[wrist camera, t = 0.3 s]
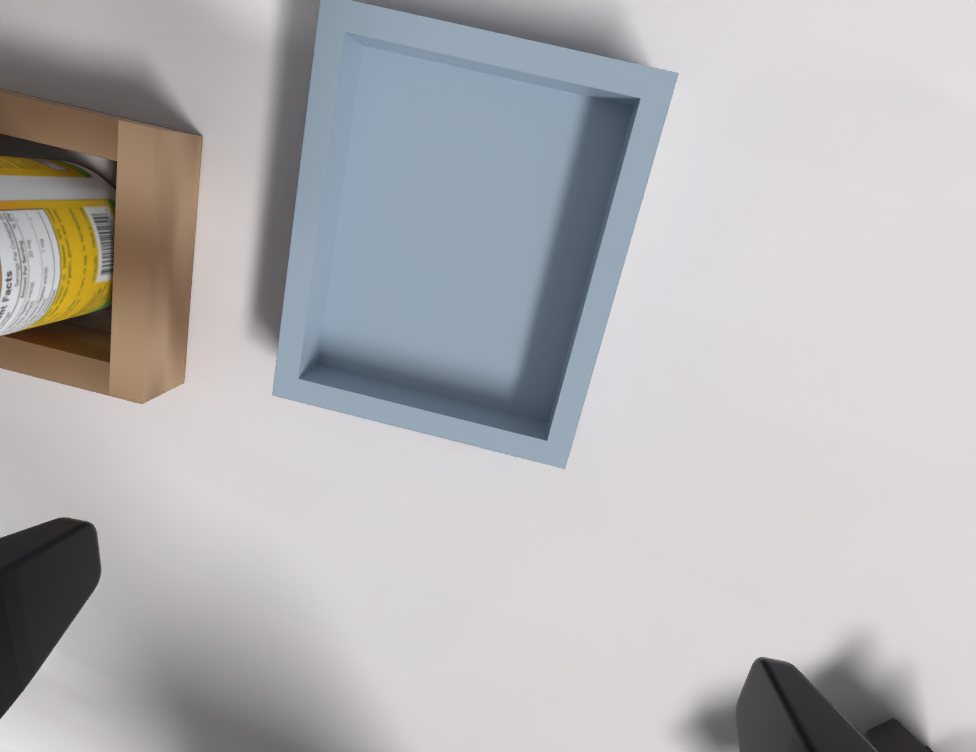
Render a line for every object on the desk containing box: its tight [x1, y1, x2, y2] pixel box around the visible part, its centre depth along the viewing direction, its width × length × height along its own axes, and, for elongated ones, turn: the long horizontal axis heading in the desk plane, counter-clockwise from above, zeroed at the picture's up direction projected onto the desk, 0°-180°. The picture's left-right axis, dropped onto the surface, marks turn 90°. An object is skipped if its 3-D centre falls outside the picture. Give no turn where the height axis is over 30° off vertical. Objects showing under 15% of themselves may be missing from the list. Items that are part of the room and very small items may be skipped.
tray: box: [272, 0, 679, 469], centre depth 20 cm, size 12×10×2 cm
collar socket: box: [0, 89, 203, 404], centre depth 21 cm, size 9×9×2 cm
